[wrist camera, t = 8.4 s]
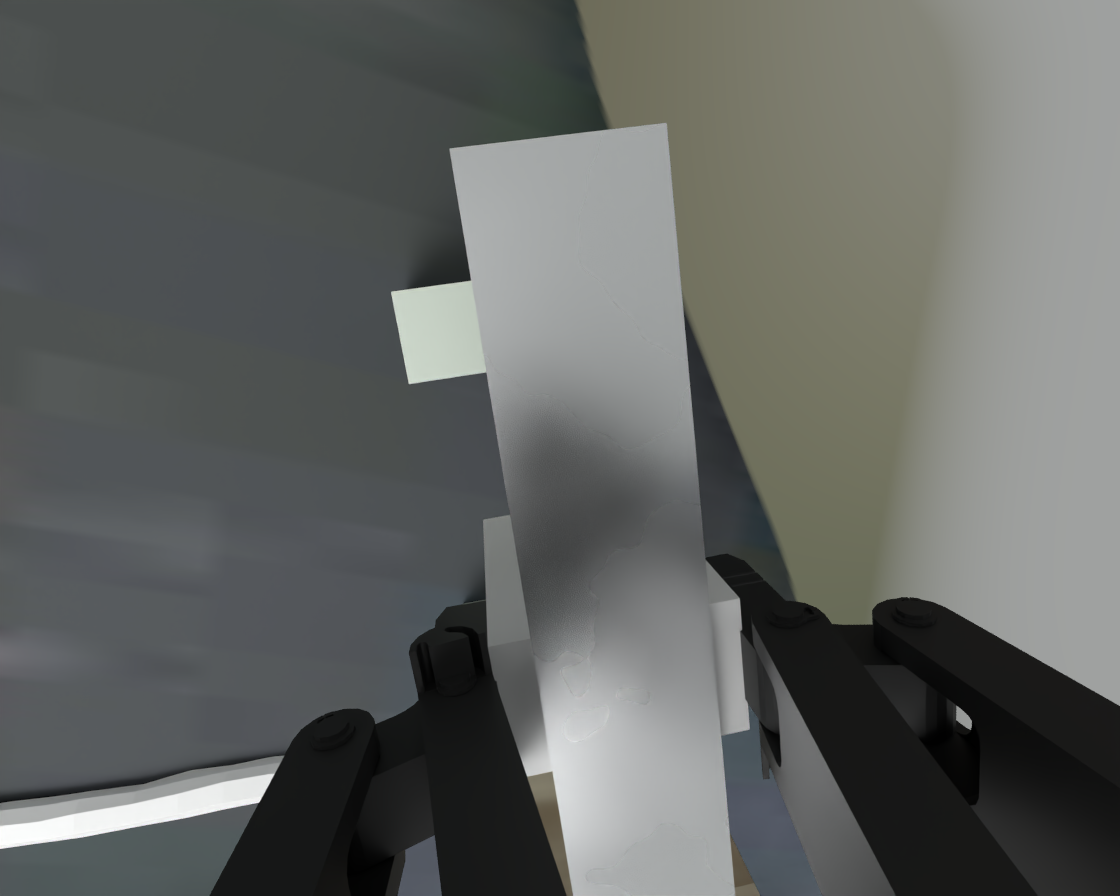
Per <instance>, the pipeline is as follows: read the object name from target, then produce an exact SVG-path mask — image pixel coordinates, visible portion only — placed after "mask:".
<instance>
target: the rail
mask: <svg viewBox="0 0 1120 896" xmlns="http://www.w3.org/2000/svg"><path fill="white" fill-rule="evenodd" d="M450 155H451V161H452V167H453V173H454V179H455V185H456V191H457V197H458V203H459V209H460V215H461V221H462V227H463V233H464V239H465V245H466V252H467V258H468V264H469V270H470V276H471V282H472V288H473V294H474V300H475V306H476V312H477V318H478V324H479V330H480V336H481V342H482V348H483V354H484V360H485V366H486V372H487V378H488V385H489V391H490V397H491V403H492V409H493V415H494V421H495V427H496V433H497V439H498V445H499V451H500V457H501V463H502V469H503V475H504V481H505V487H506V493H507V499H508V505H509V511H510V518H511V524H512V530H513V536H514V542H515V548H516V554H517V560H518V566H519V572H520V578H521V584H522V590H523V596H524V602H525V608H526V614H527V620H528V626H529V632H530V638H531V644H532V651H533V657H534V663H535V669H536V675H537V681H538V687H539V693H540V699H541V705H542V711H543V717H544V723H545V729H546V735H547V741H548V747H549V753H550V759H551V765H552V771H553V777H554V784H555V790H556V796H557V802H558V808H559V814H560V820H561V826H562V832H563V838H564V844H565V850H566V856H567V862H568V868H569V874H570V880H571V886H572V892H573V896H735V887H734V876H733V865H732V854H731V842H730V831H729V820H728V808H727V797H726V786H725V775H724V763H723V752H722V741H721V730H720V718H719V707H718V696H717V684H716V673H715V662H714V651H713V639H712V628H711V617H710V605H709V594H708V583H707V572H706V560H705V549H704V538H703V527H702V515H701V504H700V493H699V481H698V470H697V459H696V448H695V436H694V425H693V414H692V402H691V391H690V380H689V369H688V357H687V346H686V335H685V324H684V312H683V301H682V290H681V279H680V267H679V256H678V246H677V233H676V223H675V212H674V200H673V188H672V178H671V166H670V154H669V144H668V132H667V123H661V124H652V125H643V126H635V127H627V128H618V129H610V130H601V131H593V132H585V133H576V134H568V135H560V136H551V137H543V138H534V139H526V140H518V141H509V142H501V143H492V144H484V145H476V146H467V147H459V148H451V149H450Z"/></svg>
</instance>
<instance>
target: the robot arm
mask: <svg viewBox="0 0 1120 896" xmlns="http://www.w3.org/2000/svg"><path fill="white" fill-rule="evenodd" d="M483 530H484V557H485V584H486V600H484V601H478V602H473V603H467V604H462V605H457V606H451V607H446V609H445V610H444V611H443V612H442V613H441V615H440V616H439V617H438V618H437V620H436V624H435V628H433V629H431V630H429V631H427V632H425V633H424V634H422V635H420V636H419V637H418V638H417V639H416V640H415V641H414V642H413V643H412V644H411V647H410V650H409V656H410V660H411V665H412V669H413V674H414V679H415V683H416V688H417V692H418V699H419V701H417V702H416V703H415V704H414V705H413V706H412V707H410V708H409V709H407V710H406V711H404V712H402V713H400V714H398V715H396V716H394V717H392V718H389V719H387V720H385V721H382V722H380V723H377V724H375V721H374V718H373V717H372V716H371V714H370V713H369V712H367V711H364V710H361V709H342V710H339V711H335V712H330V713H327V714H325V715H324V716H321V717H319V718H317V719H315V720H313V721H312V722H311V723H309V724H308V725H307V726H305V727H304V728H303V729H301V730H300V732H299V733H298V734H297V736H296V737H295V738H294V739H293V741H292V742H291V744H290V746H289V748H288V750H287V752H286V754H285V755H284V757H283V759H282V761H281V763H280V765H279V767H278V769H277V770H276V772H275V774H274V776H273V778H272V780H271V782H270V784H269V785H268V787H267V789H266V791H265V793H264V795H263V797H262V798H261V800H260V802H259V804H258V806H257V808H256V810H255V812H254V813H253V815H252V817H251V819H250V821H249V823H248V825H247V827H246V828H245V830H244V832H243V834H242V836H241V838H240V840H239V842H238V843H237V845H236V847H235V849H234V851H233V853H232V855H231V856H230V858H229V860H228V862H227V864H226V866H225V868H224V870H223V871H222V873H221V875H220V877H219V879H218V881H217V883H216V885H215V886H214V888H213V890H212V892H211V894H210V896H397V895H398V890H399V886H400V881H401V877H402V872H403V868H404V863H405V849H407V848H409V847H411V846H413V845H415V844H417V843H419V842H421V841H423V840H425V839H427V838H429V837H431V836H433V835H435V841H436V849H437V857H438V866H439V874H440V882H441V891H442V896H567V895H566V892H565V889H564V886H563V883H562V880H561V877H560V874H559V871H558V868H557V865H556V862H555V859H554V856H553V853H552V850H551V847H550V844H549V841H548V838H547V835H546V832H545V829H544V826H543V823H542V820H541V817H540V814H539V811H538V808H537V805H536V802H535V799H534V796H533V793H532V790H531V787H530V784H529V781H528V778H527V777H528V776H533V775H538V774H542V773H547V772H552V765H551V759H550V753H549V747H548V741H547V735H546V729H545V723H544V717H543V711H542V705H541V699H540V693H539V687H538V681H537V675H536V669H535V663H534V657H533V651H532V644H531V638H530V632H529V626H528V620H527V614H526V608H525V602H524V596H523V590H522V584H521V578H520V572H519V566H518V560H517V554H516V548H515V542H514V536H513V530H512V524H511V518H510V515H508V516H502V517H496V518H490V519H485V520H483ZM705 560H706V572H707V583H708V594H709V605H710V617H711V628H712V639H713V651H714V662H715V673H716V684H717V696H718V707H719V718H720V730H721V736H722V735H726V734H731V733H736V732H740V731H745V730H750V727H749V713H748V704H749V705H750V707H751V708H752V710H753V711H754V713H755V714H756V716H757V717H758V719H759V730H760V744H761V758H762V771H763V779H770V778H769V769H770V768H771V770H772V773H773V775H774V778H775V780H776V782H777V785H778V787H779V790H780V792H781V795H782V797H783V800H784V802H785V805H786V807H787V810H788V812H789V815H790V817H791V820H792V822H793V824H794V827H795V829H796V832H797V834H798V837H799V839H800V842H801V844H802V847H803V849H804V852H805V854H806V857H807V859H808V862H809V864H810V866H811V869H812V871H813V874H814V876H815V879H816V881H817V884H818V886H819V889H820V891H821V894H822V896H1120V706H1119V705H1117V704H1115V703H1113V702H1112V701H1110V700H1108V699H1106V698H1104V697H1103V696H1101V695H1099V694H1097V693H1095V692H1094V691H1092V690H1090V689H1089V688H1087V687H1085V686H1083V685H1082V684H1080V683H1078V682H1076V681H1075V680H1073V679H1071V678H1069V677H1067V676H1066V675H1064V674H1062V673H1060V672H1059V671H1057V670H1055V669H1053V668H1052V667H1050V666H1048V665H1046V664H1044V663H1042V662H1041V661H1039V660H1037V659H1036V658H1034V657H1032V656H1030V655H1029V654H1027V653H1025V652H1023V651H1022V650H1020V649H1018V648H1016V647H1014V646H1013V645H1011V644H1009V643H1007V642H1006V641H1004V640H1002V639H1000V638H999V637H997V636H995V635H993V634H992V633H990V632H988V631H986V630H984V629H983V628H981V627H979V626H977V625H976V624H974V623H972V622H970V621H969V620H967V619H965V618H963V617H961V616H960V615H958V614H956V613H955V612H953V611H951V610H949V609H947V608H946V607H943V606H941V605H938V604H936V603H934V602H930V601H925V600H921V599H918V598H911V597H910V598H907V597H901V598H897V599H890V600H886V601H883V602H881V603H879V604H877V605H876V606H875V607H874V609H873V610H872V616H873V618H872V619H873V625H838V624H831V622H830V621H829V619H828V618H827V617H826V616H825V614H824V613H822V612H821V611H820V610H819V609H817V608H816V607H813V606H811V605H808V604H806V603H801V602H795V601H785V600H784V599H783V598H782V597H781V596H780V595H779V594H778V593H777V592H776V591H775V590H774V589H773V588H772V587H771V586H770V585H769V584H768V583H767V582H766V581H763V578H762V577H761V576H760V575H759V574H758V573H755V571H754V570H753V569H752V568H751V567H750V566H749V565H748V564H747V563H746V562H745V561H744V560H741V559H739V558H736V557H734V556H731V555H729V554H723V555H718V556H712V557H707V558H705ZM956 705H957V706H958V707H959V708H961V709H962V710H963V711H964V712H965V713H966V714H967V715H968V716H969V717H970V719H971V720H972V728H971V730H969V729H967V728H966V727H964V726H963V725H962V724H960V723H959V722H958V721H956Z"/></svg>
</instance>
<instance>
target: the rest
mask: <svg viewBox="0 0 1120 896" xmlns="http://www.w3.org/2000/svg"><path fill="white" fill-rule="evenodd" d="M391 294H392V299H393V304H394V309H395V315H396V320H397V325H398V330H399V335H400V340H401V345H402V351H403V356H404V361H405V366H406V371H407V376H408V381H409V384H412V383H419V382H425V381H432V380H438V379H445V378H452V377H458V376H465V375H471V374H478V373H484V372H486V366H485V360H484V354H483V348H482V342H481V336H480V330H479V324H478V318H477V312H476V306H475V300H474V294H473V288H472V282H471V281H466V282H458V283H451V284H444V285H437V286H430V287H422V288H415V289H408V290H401V291H393V292H391ZM481 601H484V600H481ZM475 602H478V601H475ZM470 603H473V602H470ZM465 604H467V603H465Z"/></svg>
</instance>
